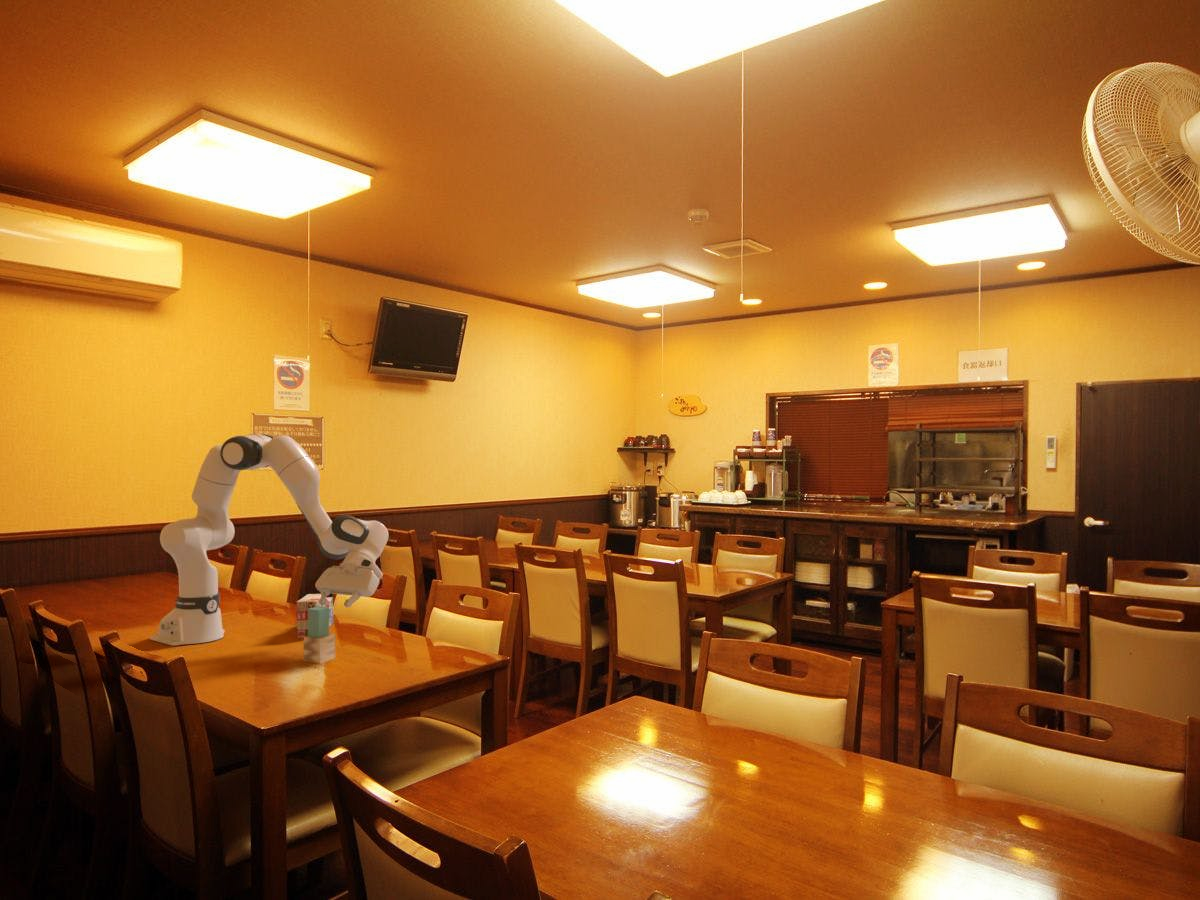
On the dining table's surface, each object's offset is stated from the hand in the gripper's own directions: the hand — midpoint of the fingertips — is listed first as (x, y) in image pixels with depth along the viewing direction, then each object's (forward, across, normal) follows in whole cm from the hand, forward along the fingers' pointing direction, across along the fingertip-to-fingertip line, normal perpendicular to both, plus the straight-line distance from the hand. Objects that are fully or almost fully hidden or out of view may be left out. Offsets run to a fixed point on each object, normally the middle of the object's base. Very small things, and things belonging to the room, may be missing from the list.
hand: (334, 604), depth 224 cm
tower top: (+12, 0, +4) cm, 13 cm away
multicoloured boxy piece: (-4, -26, +25) cm, 37 cm away
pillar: (+10, 0, +1) cm, 10 cm away
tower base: (+15, 0, +6) cm, 16 cm away
